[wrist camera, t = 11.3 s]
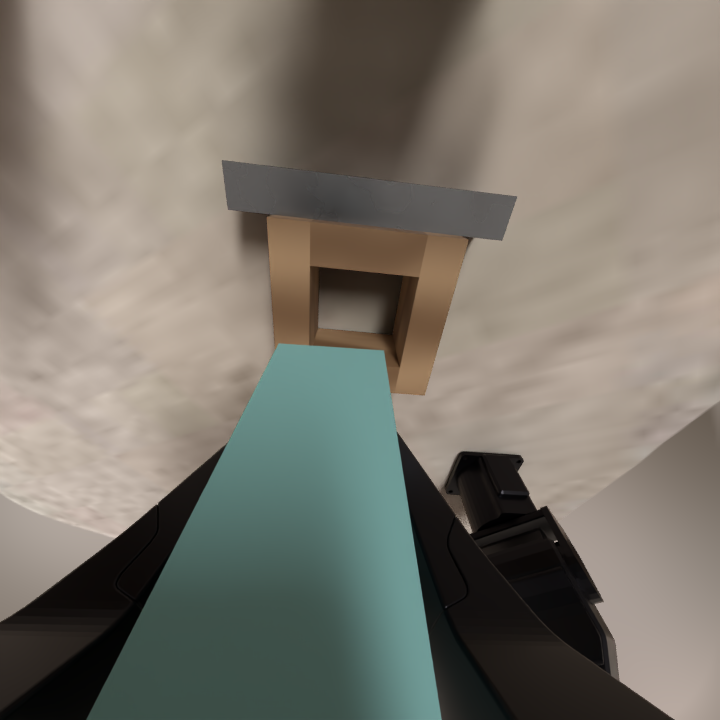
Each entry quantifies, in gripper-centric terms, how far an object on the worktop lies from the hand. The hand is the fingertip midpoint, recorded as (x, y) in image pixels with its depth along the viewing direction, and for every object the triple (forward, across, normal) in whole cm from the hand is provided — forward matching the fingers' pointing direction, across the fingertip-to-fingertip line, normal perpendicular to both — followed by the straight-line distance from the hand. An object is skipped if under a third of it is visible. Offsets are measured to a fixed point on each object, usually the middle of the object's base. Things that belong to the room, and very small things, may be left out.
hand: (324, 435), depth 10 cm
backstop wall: (+12, -1, -7) cm, 14 cm away
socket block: (+12, -1, -1) cm, 12 cm away
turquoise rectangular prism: (+2, 0, 0) cm, 2 cm away
